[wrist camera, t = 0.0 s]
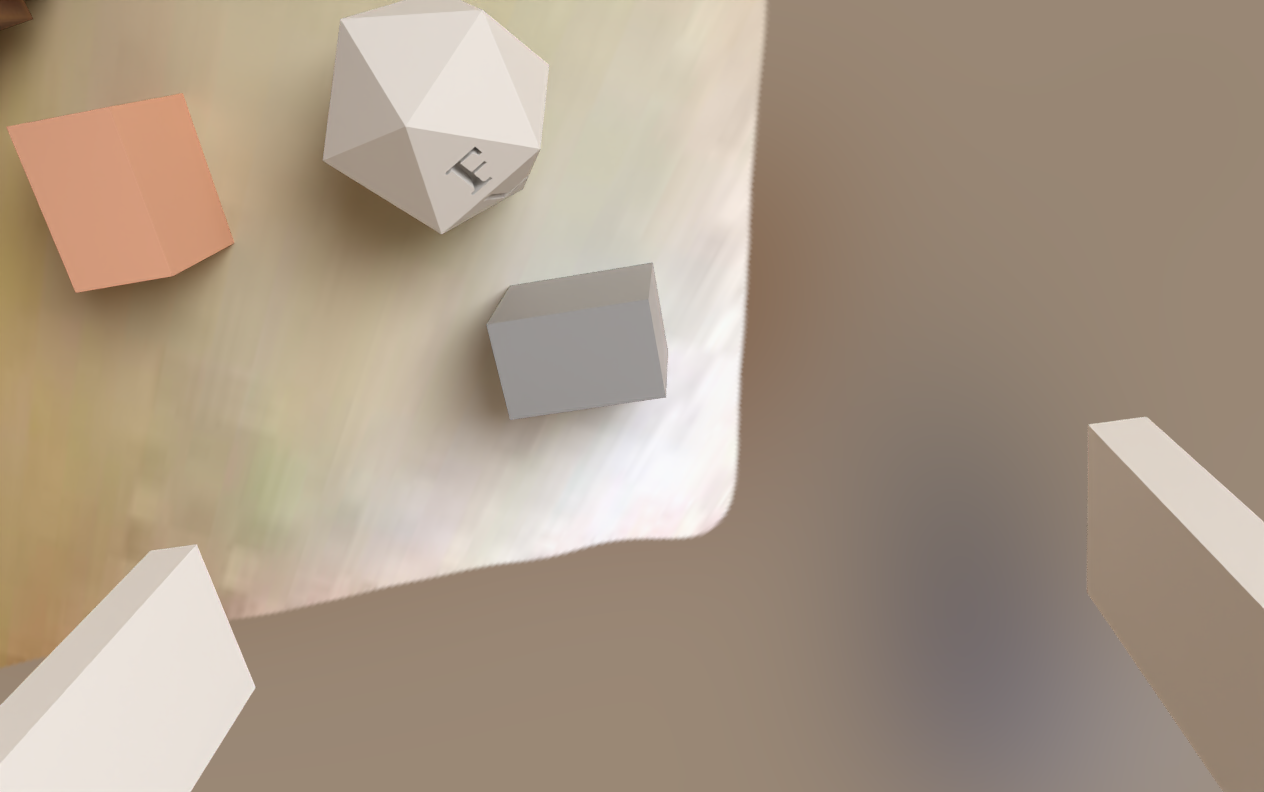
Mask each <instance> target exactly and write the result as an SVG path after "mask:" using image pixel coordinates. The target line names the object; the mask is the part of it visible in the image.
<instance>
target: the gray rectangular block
mask: <svg viewBox="0 0 1264 792" xmlns="http://www.w3.org/2000/svg"><path fill="white" fill-rule="evenodd" d="M486 325H487V329H488V333H489V338H490V342H491V346H492V350H493V354H494V358H495V362H496V366H497V370H498V374H499V378H500V382H501V386H502V390H503V394H504V398H505V402H506V406H507V410H508V414H509V418H510V420H513V419H520V418H527V417H534V416H541V415H548V414H555V413H561V412H568V411H575V410H582V409H589V408H596V407H603V406H610V405H617V404H624V403H630V402H637V401H644V400H651V399H658V398H665V397H666V385H667V363H668V348H667V342H666V336H665V330H664V325H663V319H662V313H661V307H660V302H659V296H658V290H657V284H656V279H655V273H654V267H653V263H647V264H641V265H635V266H629V267H623V268H617V269H610V270H604V271H598V272H592V273H586V274H579V275H573V276H567V277H561V278H555V279H549V280H542V281H536V282H530V283H524V284H518V285H511V286H510V287H509V288H508V290H507V292H506V293H505V295H504V296H503V298H502V300H501V301H500V303H499V305H498V306H497V308H496V310H495V311H494V313H493V314H492V316H491V318H490V319H489V321H488V323H487V324H486Z"/></svg>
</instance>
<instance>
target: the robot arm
mask: <svg viewBox="0 0 1264 792" xmlns="http://www.w3.org/2000/svg"><path fill="white" fill-rule="evenodd" d="M1087 504H1088V506H1087V507H1088V508H1087V513H1088V514H1087V517H1088V518H1087V593H1088V595H1089V596H1090V597H1091V599H1092V600H1093V602H1094V603H1095V605H1096V606H1097V608H1098V609H1099V611H1100V612H1101V613H1102V615H1103V616H1104V618H1105V619H1106V621H1107V622H1108V624H1109V625H1110V627H1111V628H1112V630H1113V631H1114V633H1115V634H1116V636H1117V637H1118V639H1119V640H1120V641H1121V643H1122V644H1123V646H1124V647H1125V649H1126V650H1127V652H1128V653H1129V655H1130V656H1131V657H1132V659H1133V660H1134V662H1135V663H1136V665H1137V666H1138V668H1139V669H1140V671H1141V672H1142V674H1143V675H1144V677H1145V678H1146V680H1147V681H1148V682H1149V684H1150V685H1151V687H1152V688H1153V690H1154V691H1155V693H1156V694H1157V695H1158V697H1159V698H1160V700H1161V701H1162V703H1163V704H1164V706H1165V707H1166V709H1167V710H1168V712H1169V713H1170V715H1171V716H1172V718H1173V719H1174V720H1175V722H1176V723H1177V725H1178V726H1179V728H1180V729H1181V731H1182V732H1183V734H1184V735H1185V737H1186V738H1187V740H1188V741H1189V743H1190V744H1191V745H1192V747H1193V748H1194V750H1195V751H1196V753H1197V754H1198V756H1199V757H1200V759H1201V760H1202V762H1203V763H1204V764H1205V766H1206V767H1207V769H1208V770H1209V772H1210V773H1211V775H1212V776H1213V778H1214V779H1215V781H1216V782H1217V784H1218V785H1219V786H1220V788H1221V789H1222V791H1223V792H1264V522H1263V521H1262V520H1261V519H1260V518H1259V517H1258V516H1257V515H1255V514H1254V513H1253V512H1252V511H1251V510H1250V509H1249V508H1248V507H1247V506H1245V505H1244V504H1243V503H1242V502H1241V501H1240V500H1239V499H1238V498H1236V497H1235V496H1234V495H1233V494H1232V493H1231V492H1230V491H1228V489H1226V488H1225V487H1224V486H1223V485H1222V484H1221V483H1220V482H1219V481H1218V480H1216V479H1215V478H1214V477H1213V476H1212V475H1211V474H1210V473H1209V472H1208V471H1206V470H1205V469H1204V468H1203V467H1202V466H1201V465H1200V464H1198V463H1197V462H1196V461H1195V460H1194V459H1193V458H1192V457H1191V456H1190V455H1189V454H1187V453H1186V452H1185V451H1184V450H1183V449H1182V448H1181V447H1180V446H1178V445H1177V444H1176V443H1175V442H1174V441H1173V440H1172V439H1171V438H1170V437H1169V436H1167V435H1166V434H1165V433H1164V432H1163V431H1162V430H1161V429H1160V428H1158V427H1157V426H1156V425H1155V424H1154V423H1153V422H1152V421H1151V420H1149V419H1148V418H1147V417H1141V418H1134V419H1126V420H1120V421H1112V422H1104V423H1097V424H1089V425H1088V500H1087ZM254 689H255V685H254V683H253V680H252V678H251V675H250V673H249V670H248V668H247V666H246V663H245V661H244V658H243V656H242V653H241V651H240V649H239V646H238V644H237V641H236V639H235V636H234V634H233V631H232V629H231V627H230V625H229V622H228V619H227V617H226V614H225V612H224V610H223V607H222V605H221V602H220V600H219V597H218V595H217V593H216V590H215V588H214V585H213V583H212V580H211V578H210V576H209V573H208V571H207V568H206V566H205V563H204V561H203V559H202V556H201V554H200V551H199V549H198V546H197V544H196V545H189V546H181V547H174V548H166V549H159V550H152V551H150V552H149V553H148V554H147V555H146V556H145V557H144V558H143V559H142V560H141V561H140V562H139V563H138V564H137V565H136V566H135V567H134V568H133V569H132V570H131V571H130V572H129V573H128V574H127V575H126V576H125V577H124V578H123V579H122V580H121V581H120V583H119V584H118V585H117V586H116V587H115V588H114V589H113V590H112V591H111V592H110V593H109V594H108V595H107V596H106V597H105V598H104V599H103V600H102V601H101V602H100V603H99V604H98V605H97V606H96V607H95V608H94V609H93V610H92V611H91V612H90V613H89V614H88V615H87V616H86V618H85V619H84V620H83V621H82V622H81V623H80V624H79V625H78V626H77V627H76V628H75V629H74V630H73V631H72V632H71V633H70V634H69V635H68V636H67V637H66V638H65V639H64V640H63V641H62V642H61V643H60V644H59V645H58V646H57V647H56V648H55V649H54V650H53V651H52V653H51V654H50V655H49V656H48V657H47V658H46V659H45V660H44V661H43V662H42V663H41V664H40V665H39V666H38V667H37V668H36V669H35V670H34V671H33V672H32V673H31V674H30V675H29V676H28V677H27V678H26V679H25V680H24V681H23V682H22V684H21V685H19V686H18V688H17V689H16V690H15V691H14V692H13V693H12V694H11V695H10V696H9V697H8V698H7V699H6V700H5V701H4V702H3V703H2V704H1V705H0V792H191V790H192V789H193V787H194V785H195V784H196V782H197V781H198V779H199V777H200V776H201V774H202V772H203V770H204V769H205V767H206V766H207V764H208V763H209V761H210V760H211V758H212V756H213V755H214V753H215V752H216V750H217V749H218V747H219V745H220V744H221V742H222V740H223V739H224V737H225V736H226V734H227V732H228V731H229V729H230V728H231V726H232V724H233V723H234V721H235V720H236V718H237V716H238V715H239V713H240V712H241V710H242V708H243V707H244V705H245V704H246V702H247V700H248V699H249V697H250V696H251V694H252V692H253V691H254Z"/></svg>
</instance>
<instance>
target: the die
mask: <svg viewBox="0 0 1264 792" xmlns="http://www.w3.org/2000/svg"><path fill="white" fill-rule="evenodd" d="M548 72H549V64H547V63H546V62H545V61H544V60H543V59H541V58H540V57H539V56H538V55H537V54H535V53H534V52H533V51H532V50H530V49H529V48H528V47H527V46H526V45H524V44H523V43H522V42H521V41H520V40H518V39H517V38H516V37H515V36H514V35H512V34H511V33H510V32H509V31H508V30H506V29H505V28H504V27H503V26H501V25H500V24H499V23H498V22H497V21H495V20H494V19H493V18H492V17H491V16H489V15H488V14H487V13H486V12H485V11H483V10H482V9H480V8H477V7H475V6H473V5H470V4H468V3H466V2H463V1H461V0H403V1H400V2H396V3H393V4H390V5H386V6H383V7H379V8H376V9H373V10H369V11H366V12H362V13H359V14H356V15H352V16H349V17H345V18H342V19H340V27H339V35H338V43H337V51H336V58H335V66H334V74H333V82H332V90H331V98H330V106H329V114H328V122H327V130H326V138H325V146H324V154H323V161H324V162H325V163H327V164H329V165H330V166H332V167H333V168H335V169H337V170H338V171H340V172H342V173H343V174H345V175H346V176H348V177H350V178H351V179H353V180H354V181H356V182H358V183H359V184H361V185H363V186H364V187H366V188H367V189H369V190H371V191H372V192H374V193H375V194H377V195H379V196H380V197H382V198H384V199H385V200H387V201H388V202H390V203H392V204H393V205H395V206H396V207H398V208H400V209H401V210H403V211H405V212H406V213H408V214H409V215H411V216H413V217H414V218H416V219H417V220H419V221H421V222H422V223H424V224H426V225H427V226H429V227H430V228H432V229H434V230H435V231H437V232H438V233H440V234H444V233H445V232H447V231H449V230H451V229H452V228H454V227H456V226H458V225H460V224H461V223H463V222H465V221H467V220H468V219H470V218H472V217H474V216H476V215H477V214H479V213H481V212H483V211H484V210H486V209H488V208H490V207H492V206H493V205H495V204H497V203H499V202H500V201H502V200H504V199H506V198H508V197H509V196H511V195H513V194H515V193H516V192H518V191H520V190H522V189H523V188H524V185H525V183H526V181H527V178H528V175H529V174H530V172H531V169H532V167H533V165H534V162H535V160H536V158H537V156H538V153H539V151H540V148H541V139H542V129H543V120H544V110H545V100H546V91H547V81H548Z"/></svg>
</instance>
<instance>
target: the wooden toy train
mask: <svg viewBox="0 0 1264 792" xmlns="http://www.w3.org/2000/svg"><path fill="white" fill-rule="evenodd" d="M31 19H33V18H32V16H31V14H30V12H29V10H28V8H27V6H26V4H25V2H24V0H0V30H3V29H6V28H9V27H11V26H14V25H17V24H20V23H23V22H26V21H28V20H31Z"/></svg>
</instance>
